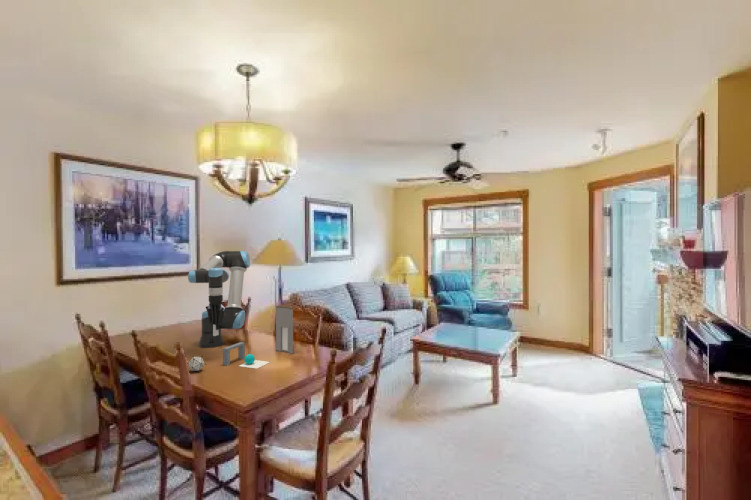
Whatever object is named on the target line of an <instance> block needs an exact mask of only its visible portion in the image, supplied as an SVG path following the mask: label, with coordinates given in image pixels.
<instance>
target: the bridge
mask: <svg viewBox="0 0 751 500" xmlns="http://www.w3.org/2000/svg"><path fill="white" fill-rule="evenodd" d="M237 348H238V349H237ZM245 348H246V343H245V342H242V341H239V342H237V343H234V344H230V345H229V346H226V347H223V348H222V366H226V367H227V366H230V364H231V362H230V361H231V358H230V357H231V354H230V353H231V350H234V349H237V353H238V354H237V356H238V357H237V358H238V360H244V359H245V356H246V349H245Z"/></svg>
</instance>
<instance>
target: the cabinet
mask: <svg viewBox="0 0 751 500" xmlns="http://www.w3.org/2000/svg"><path fill="white" fill-rule="evenodd" d="M275 352H281V353H285V354H287V353H288V354H289V355H293V354H294V307H293V305H292V303H290V302H288V303H286V304H281V305H276V306H275Z"/></svg>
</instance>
